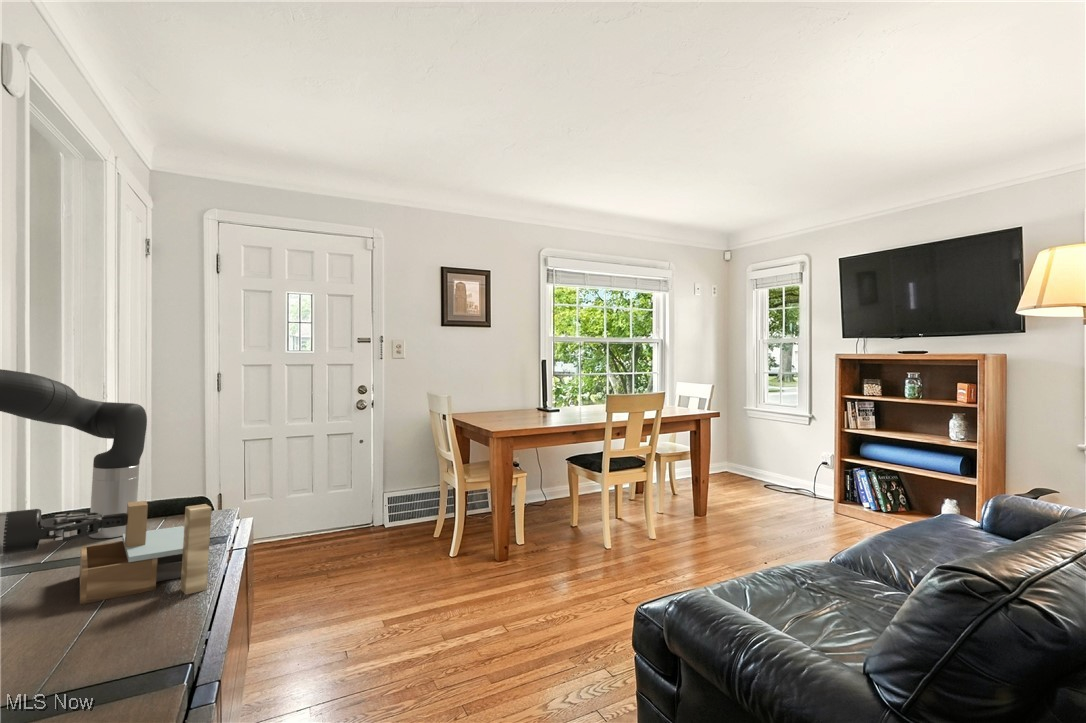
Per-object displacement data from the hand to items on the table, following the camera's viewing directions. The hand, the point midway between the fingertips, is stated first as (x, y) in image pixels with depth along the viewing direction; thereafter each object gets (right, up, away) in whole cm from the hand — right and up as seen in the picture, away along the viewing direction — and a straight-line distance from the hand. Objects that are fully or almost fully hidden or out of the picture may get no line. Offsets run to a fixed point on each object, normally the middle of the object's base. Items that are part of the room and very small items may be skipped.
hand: (127, 518), depth 104 cm
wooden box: (+1, -13, +1) cm, 13 cm away
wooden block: (+15, -13, -2) cm, 20 cm away
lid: (+4, -6, +4) cm, 9 cm away
